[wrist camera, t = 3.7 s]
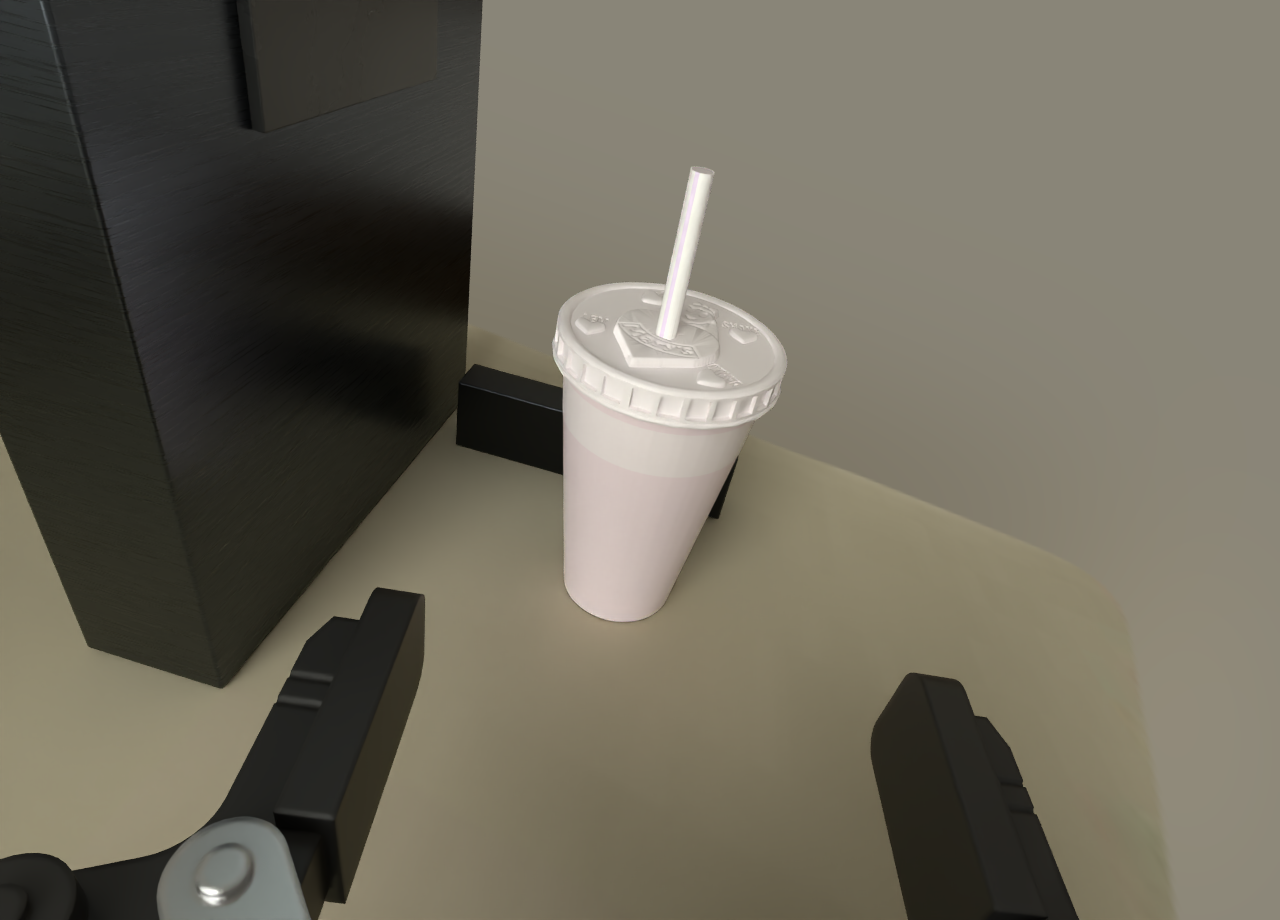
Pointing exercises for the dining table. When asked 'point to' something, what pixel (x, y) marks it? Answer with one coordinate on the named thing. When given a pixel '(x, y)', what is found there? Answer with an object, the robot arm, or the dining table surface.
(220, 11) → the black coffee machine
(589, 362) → the smoothie
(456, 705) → the dining table surface
